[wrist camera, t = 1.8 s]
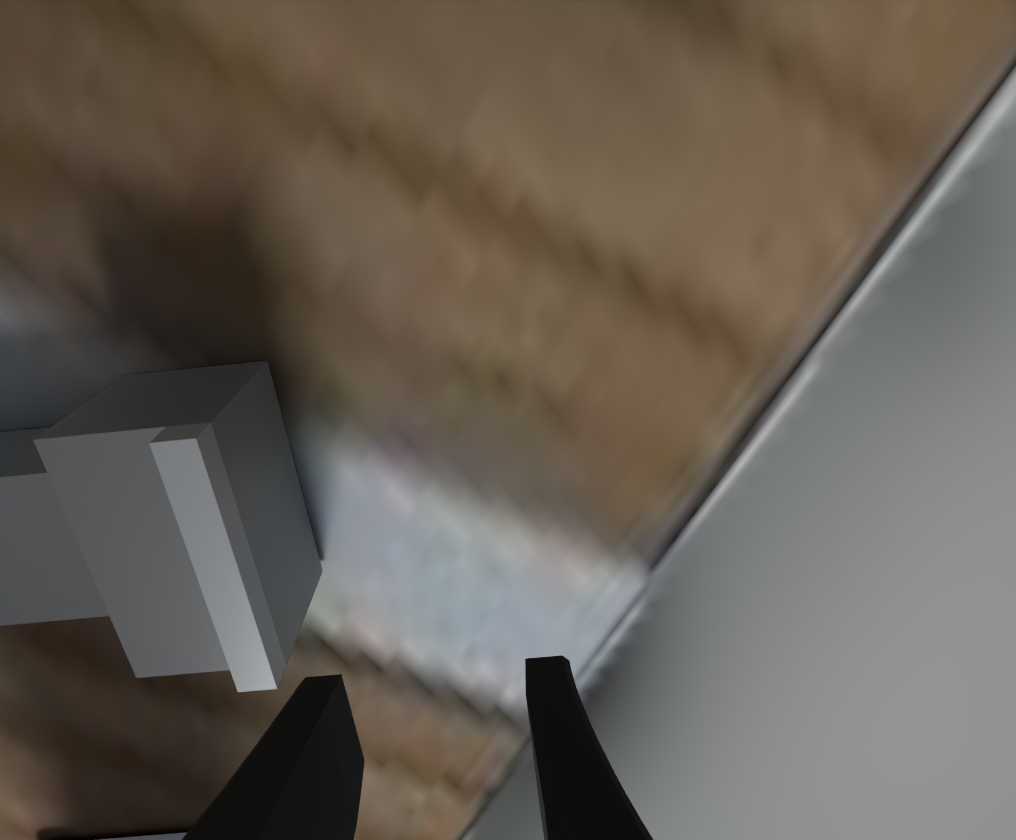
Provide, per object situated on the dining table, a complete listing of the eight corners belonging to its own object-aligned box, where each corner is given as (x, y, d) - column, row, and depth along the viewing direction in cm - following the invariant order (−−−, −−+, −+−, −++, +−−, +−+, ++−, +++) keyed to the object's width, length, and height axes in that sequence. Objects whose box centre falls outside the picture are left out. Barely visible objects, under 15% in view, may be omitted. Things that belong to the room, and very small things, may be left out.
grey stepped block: (322, 570, 22) (277, 688, 17) (28, 597, 22) (-91, 719, 18) (267, 360, 19) (196, 438, 14) (-71, 394, 19) (-242, 481, 15)
